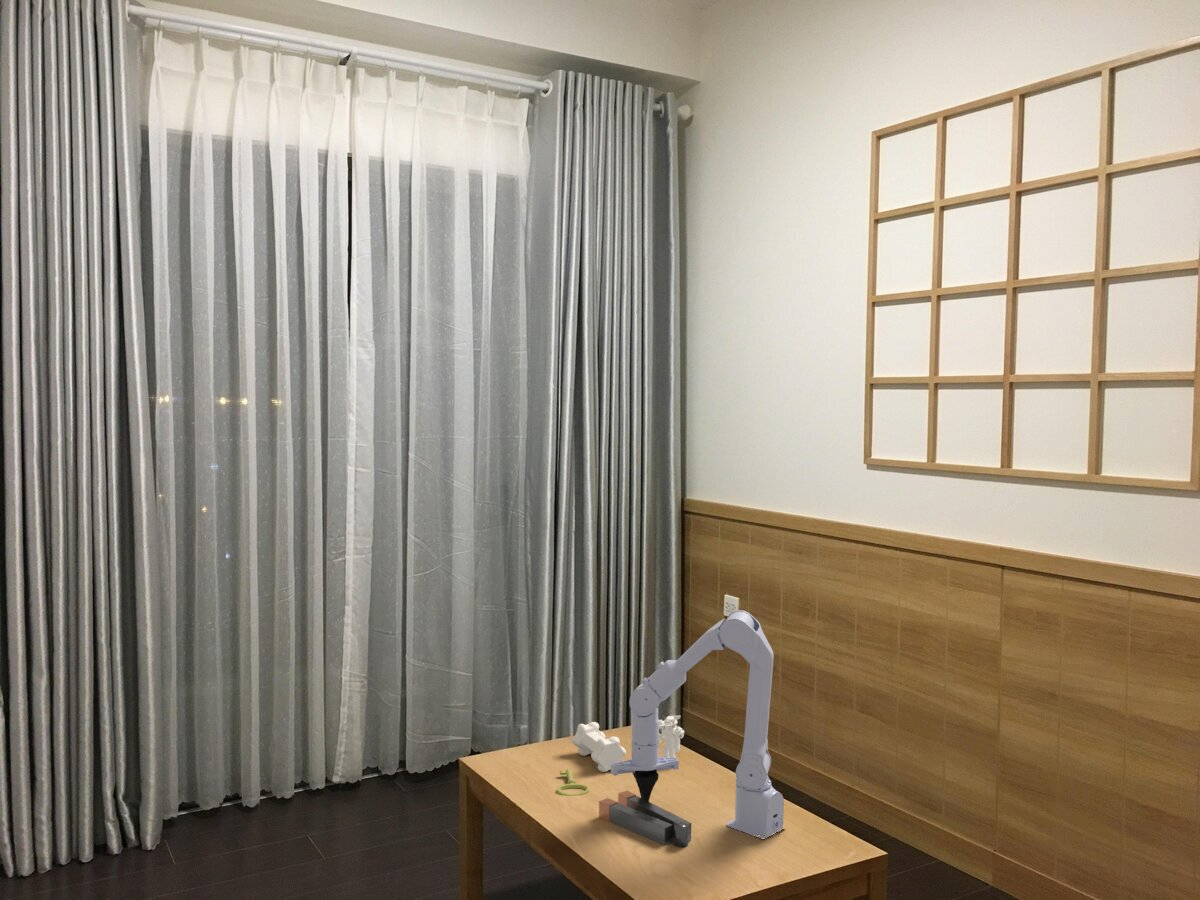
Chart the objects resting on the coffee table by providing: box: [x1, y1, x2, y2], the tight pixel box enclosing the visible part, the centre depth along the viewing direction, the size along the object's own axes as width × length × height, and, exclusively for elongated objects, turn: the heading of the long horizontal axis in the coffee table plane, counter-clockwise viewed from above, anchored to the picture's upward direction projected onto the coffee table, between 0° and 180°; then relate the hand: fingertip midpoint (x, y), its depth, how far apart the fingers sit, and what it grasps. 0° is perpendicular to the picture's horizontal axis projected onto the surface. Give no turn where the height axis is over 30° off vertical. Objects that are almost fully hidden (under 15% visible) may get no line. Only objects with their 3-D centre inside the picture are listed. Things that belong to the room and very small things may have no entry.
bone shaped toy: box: [571, 721, 627, 773], centre depth 234 cm, size 15×9×8 cm, turn 25°
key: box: [556, 768, 590, 797], centre depth 219 cm, size 7×12×2 cm, turn 27°
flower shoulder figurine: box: [658, 714, 685, 758], centre depth 235 cm, size 9×4×12 cm, turn 38°
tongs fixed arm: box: [598, 797, 673, 846], centre depth 197 cm, size 18×2×4 cm, turn 46°
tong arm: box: [617, 790, 692, 848], centre depth 198 cm, size 21×4×4 cm, turn 38°
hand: (644, 804), depth 205 cm, fingers closed
